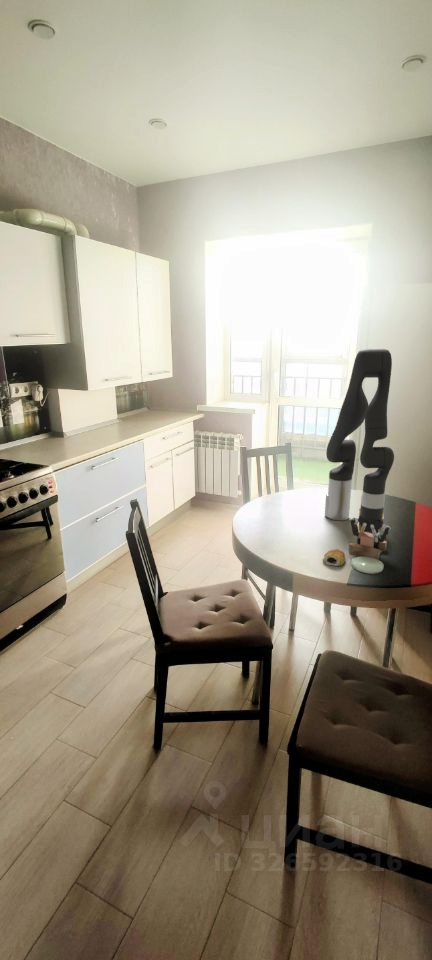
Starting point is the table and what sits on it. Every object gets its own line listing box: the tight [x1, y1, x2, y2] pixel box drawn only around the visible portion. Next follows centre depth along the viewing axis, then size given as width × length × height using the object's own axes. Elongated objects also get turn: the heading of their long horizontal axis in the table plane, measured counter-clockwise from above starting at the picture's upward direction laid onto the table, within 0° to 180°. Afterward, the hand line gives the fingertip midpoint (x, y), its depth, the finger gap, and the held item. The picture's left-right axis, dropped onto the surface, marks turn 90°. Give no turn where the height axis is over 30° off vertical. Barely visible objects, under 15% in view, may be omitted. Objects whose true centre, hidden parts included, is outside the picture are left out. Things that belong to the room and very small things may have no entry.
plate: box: [351, 556, 384, 575], centre depth 146 cm, size 10×10×1 cm
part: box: [360, 532, 375, 548], centre depth 156 cm, size 4×4×6 cm
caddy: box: [348, 536, 388, 560], centre depth 156 cm, size 10×10×3 cm
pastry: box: [322, 549, 346, 567], centre depth 150 cm, size 9×7×4 cm
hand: (367, 548), depth 156 cm, fingers closed on part, 4 cm apart
